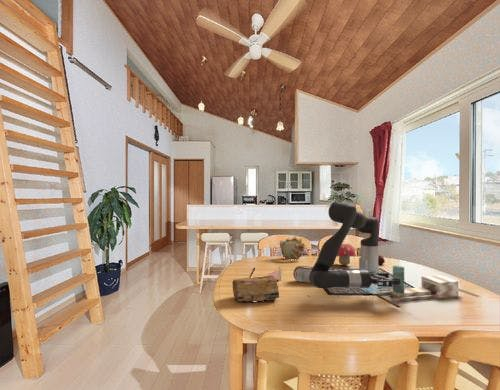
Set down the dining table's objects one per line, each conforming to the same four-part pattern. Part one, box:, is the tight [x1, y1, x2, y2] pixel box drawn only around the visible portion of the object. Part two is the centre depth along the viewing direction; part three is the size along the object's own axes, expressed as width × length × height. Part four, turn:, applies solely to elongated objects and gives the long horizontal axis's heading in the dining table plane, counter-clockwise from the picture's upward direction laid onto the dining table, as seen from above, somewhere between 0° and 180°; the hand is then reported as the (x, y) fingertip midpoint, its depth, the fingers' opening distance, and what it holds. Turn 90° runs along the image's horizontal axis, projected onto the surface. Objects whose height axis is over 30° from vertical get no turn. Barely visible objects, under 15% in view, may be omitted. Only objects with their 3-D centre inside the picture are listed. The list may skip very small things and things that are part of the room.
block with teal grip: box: [389, 265, 431, 298], centre depth 116 cm, size 16×5×13 cm, turn 100°
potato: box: [378, 254, 385, 266], centre depth 178 cm, size 7×8×6 cm
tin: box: [293, 265, 313, 284], centre depth 139 cm, size 15×3×8 cm, turn 71°
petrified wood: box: [231, 276, 280, 302], centre depth 118 cm, size 19×13×10 cm
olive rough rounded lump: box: [279, 236, 307, 261], centre depth 191 cm, size 18×18×15 cm
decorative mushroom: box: [337, 242, 356, 267], centre depth 174 cm, size 13×13×15 cm
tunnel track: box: [376, 274, 482, 309], centre depth 117 cm, size 42×13×8 cm, turn 101°
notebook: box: [267, 266, 282, 281], centre depth 155 cm, size 27×17×2 cm, turn 172°
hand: (393, 278), depth 114 cm, fingers open, 8 cm apart
